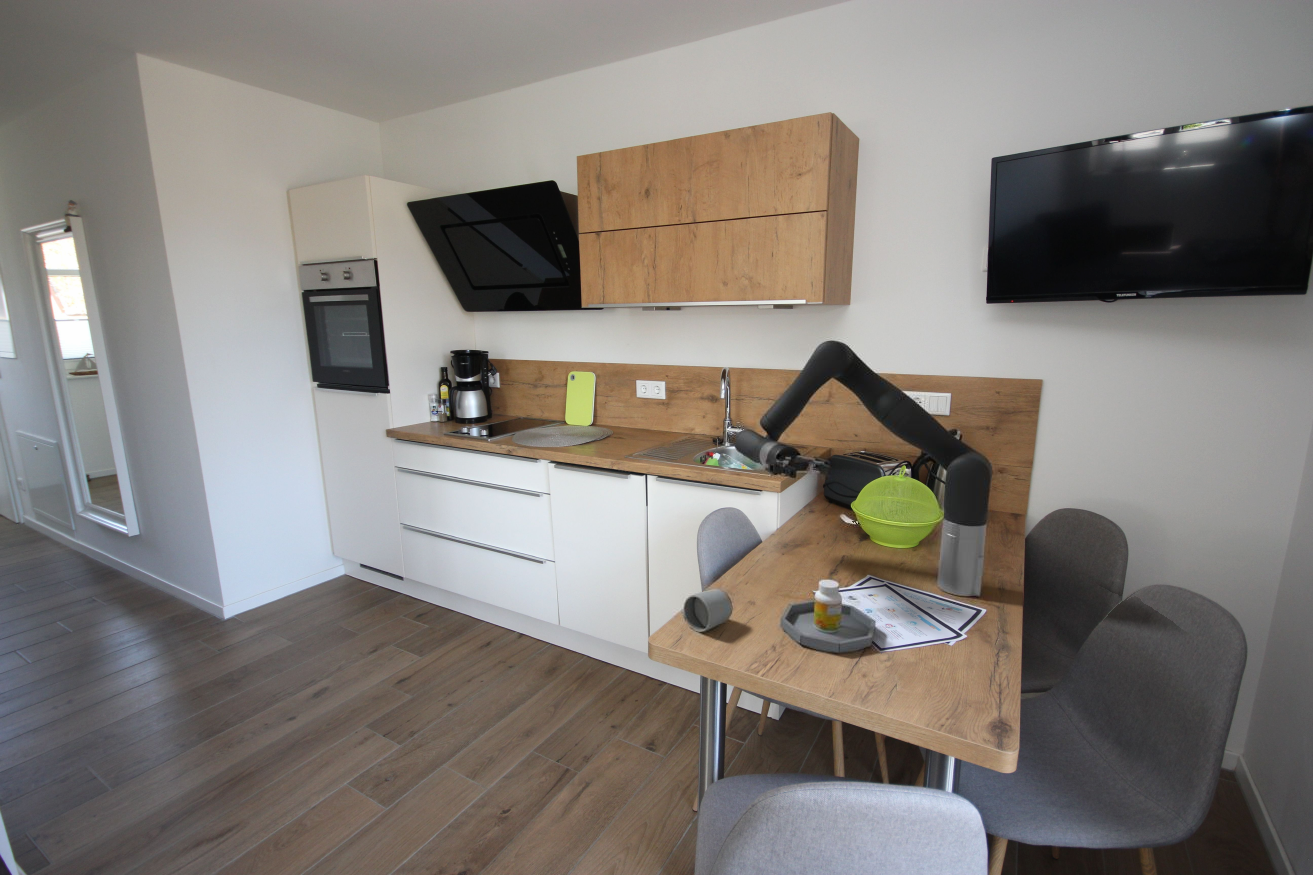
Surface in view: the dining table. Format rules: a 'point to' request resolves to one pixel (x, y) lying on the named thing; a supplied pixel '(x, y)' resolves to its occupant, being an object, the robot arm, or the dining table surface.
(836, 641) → the dish
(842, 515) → the fork
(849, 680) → the dining table surface
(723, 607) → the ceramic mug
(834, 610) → the supplement bottle
